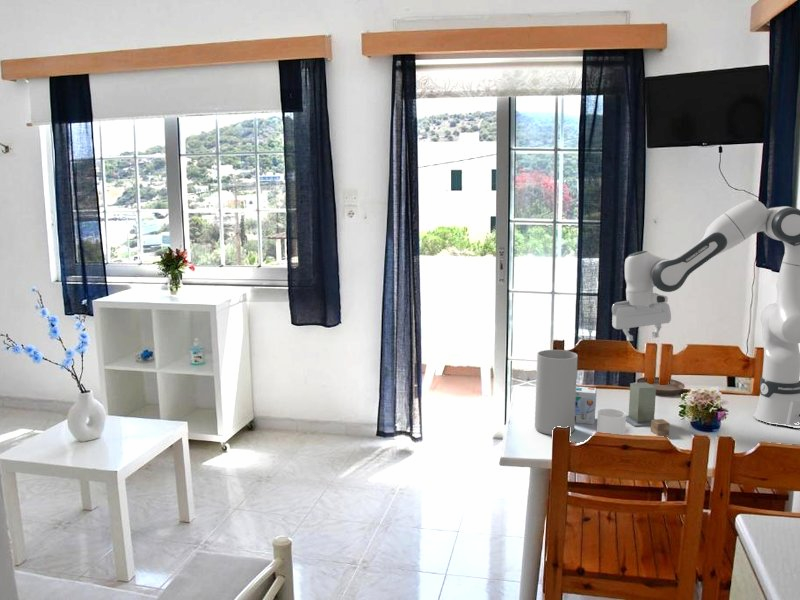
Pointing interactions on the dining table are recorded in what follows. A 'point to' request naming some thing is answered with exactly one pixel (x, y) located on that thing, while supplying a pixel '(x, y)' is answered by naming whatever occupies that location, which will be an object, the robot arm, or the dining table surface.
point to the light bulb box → (585, 405)
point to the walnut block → (660, 427)
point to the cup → (611, 421)
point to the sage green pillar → (642, 402)
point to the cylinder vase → (555, 390)
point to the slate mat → (636, 423)
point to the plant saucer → (665, 386)
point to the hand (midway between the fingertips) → (642, 339)
